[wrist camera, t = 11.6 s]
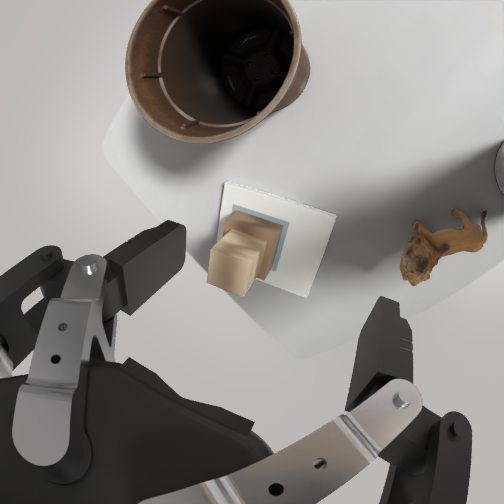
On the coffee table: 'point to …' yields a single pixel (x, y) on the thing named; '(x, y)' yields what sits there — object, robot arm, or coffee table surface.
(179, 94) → the plant pot
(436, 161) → the coffee table surface
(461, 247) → the lion figurine
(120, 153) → the coffee table surface
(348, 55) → the coffee table surface
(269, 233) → the walnut plinth
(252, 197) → the board
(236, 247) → the oak block
